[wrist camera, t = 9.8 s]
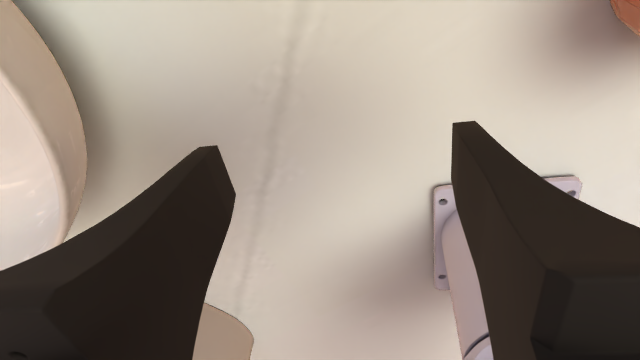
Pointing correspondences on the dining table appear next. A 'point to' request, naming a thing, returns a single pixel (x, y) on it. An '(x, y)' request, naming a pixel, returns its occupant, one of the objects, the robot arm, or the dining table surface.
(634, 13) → the cup
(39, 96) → the serving bowl
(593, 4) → the dining table surface
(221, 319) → the cream round tub
